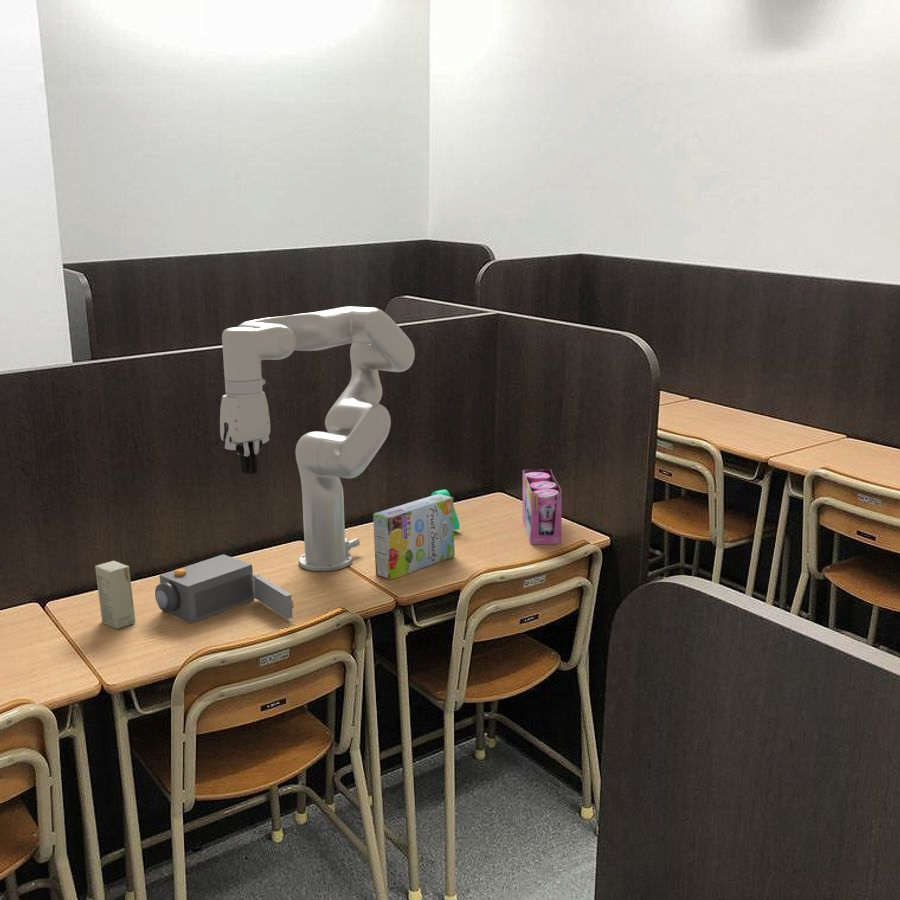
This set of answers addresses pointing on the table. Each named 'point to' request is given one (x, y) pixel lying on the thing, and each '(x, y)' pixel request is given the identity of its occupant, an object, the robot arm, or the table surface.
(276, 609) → the side door
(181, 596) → the camera body
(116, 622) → the skincare box
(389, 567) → the snack box
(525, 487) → the gum box
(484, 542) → the table surface
